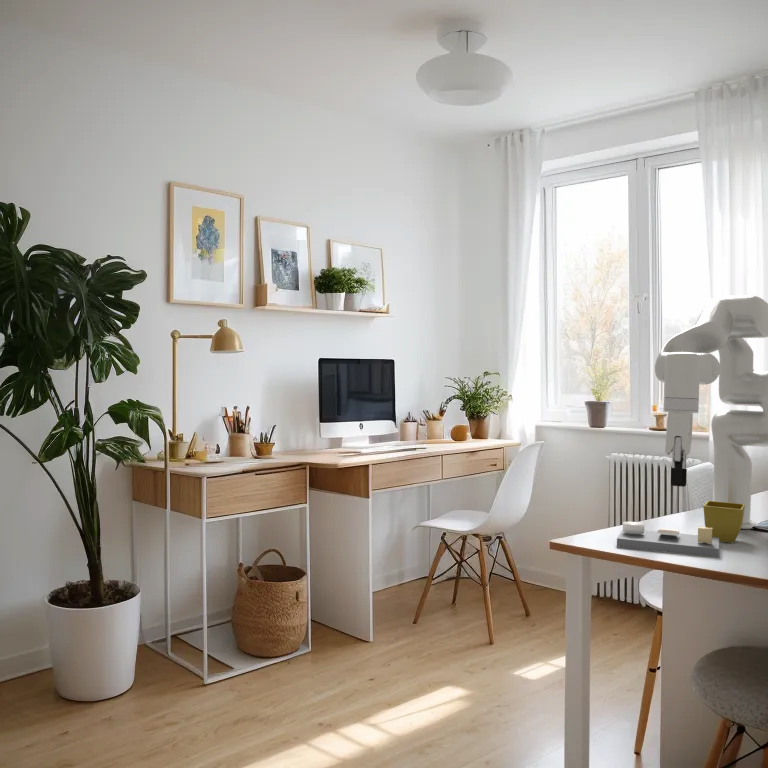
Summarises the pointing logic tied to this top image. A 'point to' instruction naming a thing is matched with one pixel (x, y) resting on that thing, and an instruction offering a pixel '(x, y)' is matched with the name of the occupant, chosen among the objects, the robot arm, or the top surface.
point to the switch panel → (669, 543)
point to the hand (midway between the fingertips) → (678, 485)
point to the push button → (633, 527)
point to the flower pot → (724, 519)
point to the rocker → (668, 531)
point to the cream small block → (705, 534)
